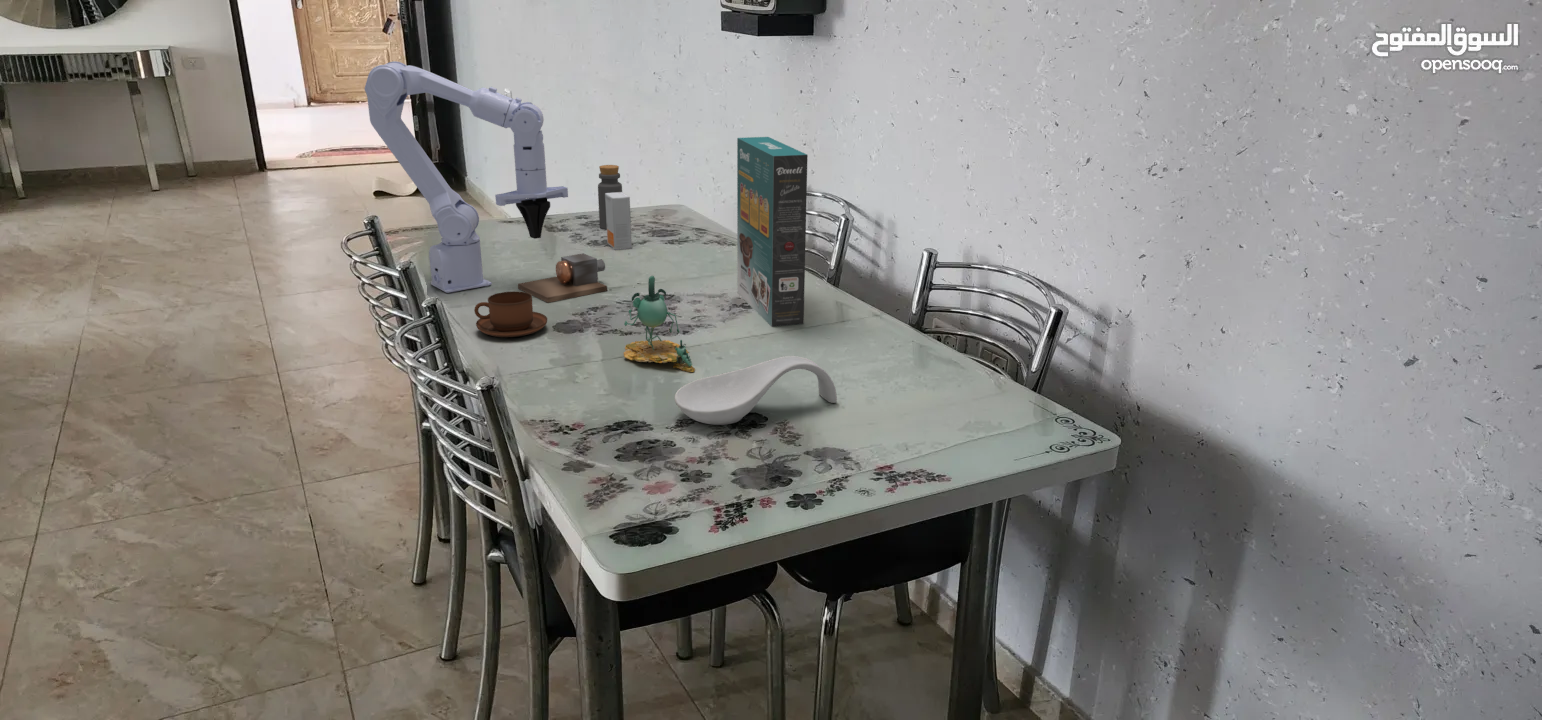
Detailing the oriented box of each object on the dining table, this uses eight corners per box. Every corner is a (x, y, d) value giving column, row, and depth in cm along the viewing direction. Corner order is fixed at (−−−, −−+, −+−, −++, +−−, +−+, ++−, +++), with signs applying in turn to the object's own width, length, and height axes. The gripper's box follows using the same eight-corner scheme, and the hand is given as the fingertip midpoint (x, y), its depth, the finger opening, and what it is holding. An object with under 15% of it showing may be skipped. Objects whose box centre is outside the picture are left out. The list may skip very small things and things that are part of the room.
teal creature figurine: (652, 382, 154) (643, 287, 150) (608, 359, 169) (599, 272, 165) (708, 371, 158) (701, 278, 155) (660, 349, 174) (653, 264, 170)
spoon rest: (692, 441, 135) (691, 391, 132) (663, 409, 145) (662, 362, 142) (848, 413, 144) (850, 366, 141) (811, 385, 154) (812, 340, 151)
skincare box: (606, 244, 234) (604, 192, 230) (624, 242, 236) (622, 191, 232) (614, 250, 229) (612, 197, 225) (632, 248, 231) (630, 196, 226)
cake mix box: (803, 323, 181) (807, 154, 170) (771, 326, 179) (773, 156, 169) (766, 290, 200) (768, 136, 190) (737, 292, 199) (737, 137, 188)
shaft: (567, 285, 197) (566, 263, 196) (556, 280, 200) (555, 259, 199) (608, 277, 203) (607, 256, 201) (596, 273, 206) (595, 252, 204)
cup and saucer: (481, 346, 168) (478, 310, 166) (473, 325, 179) (469, 291, 177) (554, 338, 173) (551, 303, 170) (541, 317, 183) (539, 284, 181)
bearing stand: (547, 302, 191) (545, 273, 189) (518, 288, 200) (515, 260, 198) (607, 290, 199) (605, 262, 197) (576, 277, 207) (574, 250, 205)
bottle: (621, 229, 248) (619, 168, 243) (597, 229, 248) (594, 168, 243) (625, 224, 253) (623, 164, 248) (602, 224, 253) (599, 164, 248)
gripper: (505, 175, 188) (510, 246, 193) (574, 167, 197) (578, 235, 202) (488, 169, 193) (494, 239, 198) (556, 162, 202) (560, 229, 207)
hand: (535, 237), depth 200 cm, fingers closed
